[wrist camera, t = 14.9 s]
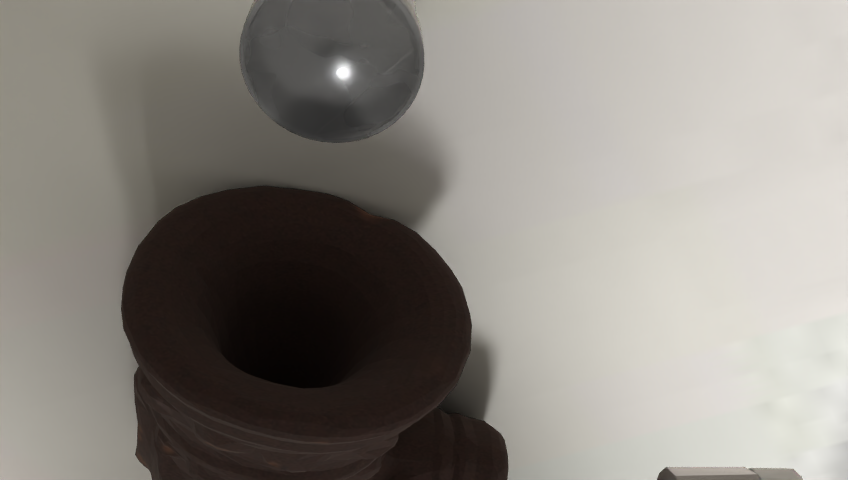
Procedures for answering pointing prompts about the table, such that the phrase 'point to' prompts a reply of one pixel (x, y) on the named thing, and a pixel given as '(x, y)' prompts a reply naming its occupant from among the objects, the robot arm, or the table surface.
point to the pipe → (298, 346)
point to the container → (333, 64)
